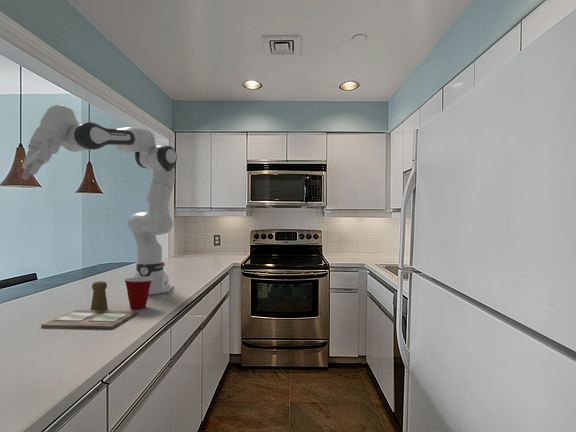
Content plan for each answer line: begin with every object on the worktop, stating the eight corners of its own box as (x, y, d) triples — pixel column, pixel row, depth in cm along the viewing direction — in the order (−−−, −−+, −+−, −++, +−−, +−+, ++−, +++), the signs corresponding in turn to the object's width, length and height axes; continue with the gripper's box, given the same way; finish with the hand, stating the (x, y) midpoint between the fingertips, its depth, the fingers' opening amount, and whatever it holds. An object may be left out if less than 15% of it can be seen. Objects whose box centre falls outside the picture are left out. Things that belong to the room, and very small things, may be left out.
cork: (100, 312, 135) (100, 283, 135) (86, 310, 136) (87, 282, 136) (111, 307, 141) (111, 280, 141) (98, 307, 142) (98, 280, 142)
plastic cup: (158, 305, 146) (158, 276, 146) (140, 312, 135) (141, 281, 135) (136, 303, 148) (136, 275, 148) (117, 309, 138) (117, 279, 138)
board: (76, 312, 134) (76, 309, 134) (137, 313, 133) (137, 310, 133) (41, 327, 116) (41, 323, 116) (111, 329, 115) (112, 325, 115)
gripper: (64, 141, 122) (47, 175, 117) (46, 153, 135) (30, 185, 130) (45, 131, 118) (26, 166, 113) (28, 145, 131) (10, 177, 126)
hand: (28, 176), depth 122 cm, fingers open, 8 cm apart
